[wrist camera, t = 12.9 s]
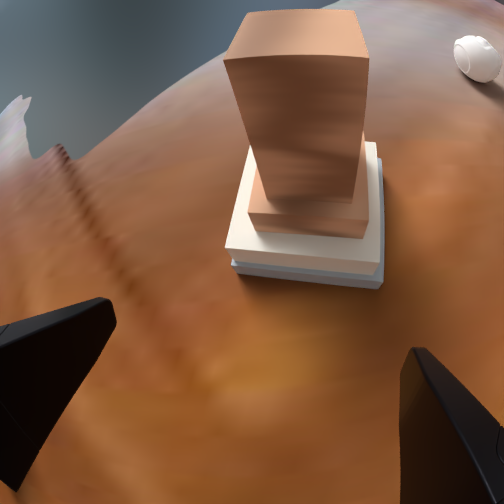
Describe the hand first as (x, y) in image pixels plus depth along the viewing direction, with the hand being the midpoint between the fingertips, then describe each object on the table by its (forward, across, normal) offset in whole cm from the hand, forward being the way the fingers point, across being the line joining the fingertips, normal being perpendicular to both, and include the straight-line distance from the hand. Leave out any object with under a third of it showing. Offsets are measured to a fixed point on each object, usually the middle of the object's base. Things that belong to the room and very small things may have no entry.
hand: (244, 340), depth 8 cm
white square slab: (+16, 0, 0) cm, 16 cm away
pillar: (+14, -1, -2) cm, 15 cm away
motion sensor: (+37, -24, -19) cm, 48 cm away
